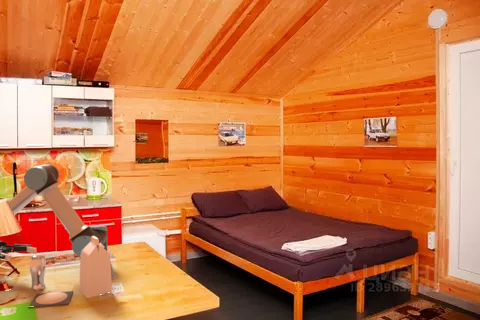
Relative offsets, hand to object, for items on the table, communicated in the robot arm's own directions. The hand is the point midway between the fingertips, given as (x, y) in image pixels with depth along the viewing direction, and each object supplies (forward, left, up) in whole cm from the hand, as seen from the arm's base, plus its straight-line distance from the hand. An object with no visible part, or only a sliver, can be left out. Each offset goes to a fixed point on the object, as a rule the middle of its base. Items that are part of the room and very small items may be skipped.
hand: (23, 254), depth 205 cm
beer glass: (-8, +6, -15) cm, 18 cm away
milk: (-35, +15, -15) cm, 41 cm away
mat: (-17, +22, -15) cm, 32 cm away
